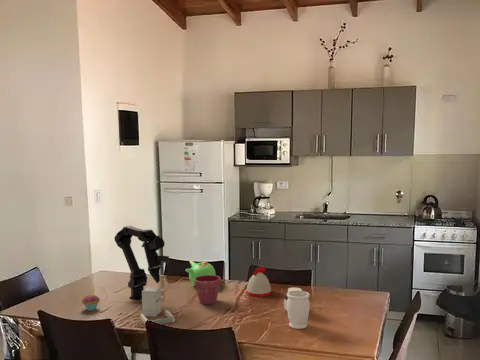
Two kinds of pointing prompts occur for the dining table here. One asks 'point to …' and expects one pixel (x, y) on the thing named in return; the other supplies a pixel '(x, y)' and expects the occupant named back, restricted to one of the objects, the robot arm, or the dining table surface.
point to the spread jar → (287, 297)
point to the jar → (298, 309)
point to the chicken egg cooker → (259, 284)
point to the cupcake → (91, 301)
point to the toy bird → (200, 270)
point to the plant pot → (207, 288)
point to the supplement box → (151, 301)
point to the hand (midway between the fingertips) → (158, 282)
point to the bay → (163, 320)
